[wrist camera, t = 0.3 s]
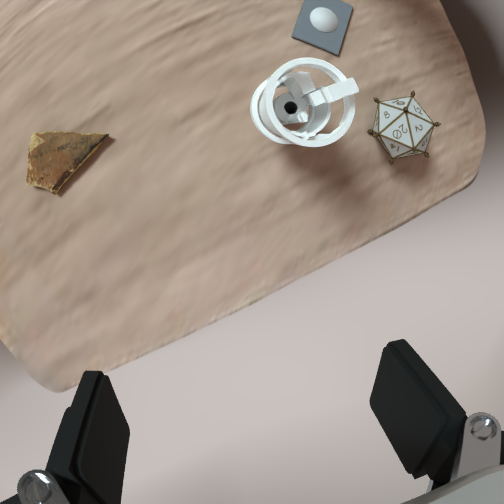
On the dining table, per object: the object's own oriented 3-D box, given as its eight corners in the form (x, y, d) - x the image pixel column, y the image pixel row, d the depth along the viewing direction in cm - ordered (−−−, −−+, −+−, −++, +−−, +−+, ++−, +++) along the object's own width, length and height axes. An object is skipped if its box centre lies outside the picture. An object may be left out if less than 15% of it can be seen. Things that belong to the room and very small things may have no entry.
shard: (112, 134, 33) (108, 134, 32) (105, 197, 36) (101, 200, 34) (36, 130, 31) (29, 131, 30) (31, 190, 34) (25, 192, 32)
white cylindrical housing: (313, 127, 36) (375, 126, 22) (261, 152, 36) (295, 163, 22) (287, 75, 33) (336, 42, 19) (233, 99, 34) (250, 75, 20)
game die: (374, 140, 41) (394, 192, 36) (346, 97, 36) (365, 144, 30) (428, 115, 36) (458, 163, 31) (406, 66, 31) (440, 109, 25)
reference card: (308, -12, 29) (309, -13, 29) (351, 7, 31) (353, 6, 30) (291, 36, 32) (292, 35, 31) (336, 55, 33) (338, 54, 32)
